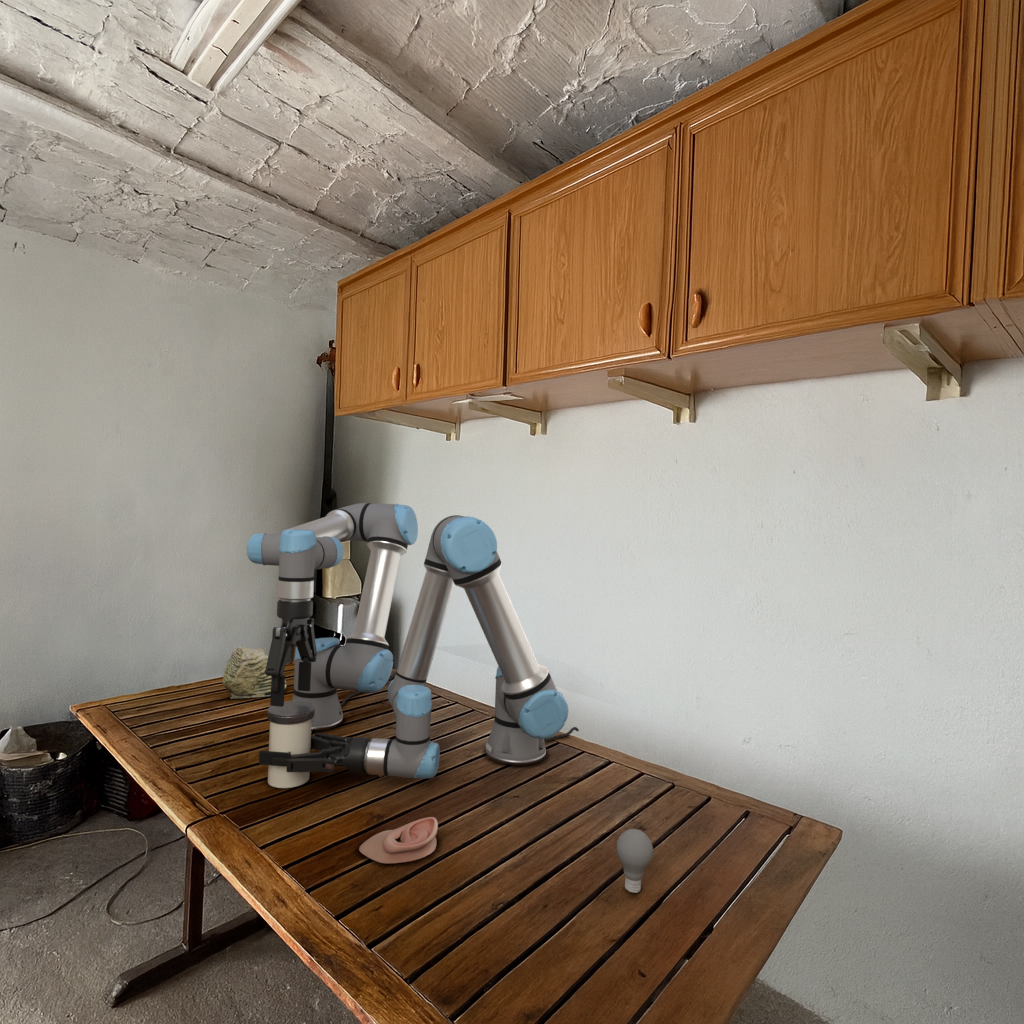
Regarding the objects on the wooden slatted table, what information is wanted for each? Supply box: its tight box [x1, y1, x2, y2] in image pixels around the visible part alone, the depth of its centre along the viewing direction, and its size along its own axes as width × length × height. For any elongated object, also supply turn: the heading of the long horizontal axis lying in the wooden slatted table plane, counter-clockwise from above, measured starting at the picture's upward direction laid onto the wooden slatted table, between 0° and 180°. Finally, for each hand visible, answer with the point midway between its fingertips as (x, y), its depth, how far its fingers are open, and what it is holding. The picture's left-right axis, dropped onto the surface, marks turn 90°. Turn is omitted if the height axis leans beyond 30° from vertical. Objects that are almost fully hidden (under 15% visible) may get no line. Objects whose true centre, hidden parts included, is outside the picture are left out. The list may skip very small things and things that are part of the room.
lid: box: [266, 700, 315, 724], centre depth 141 cm, size 10×10×2 cm
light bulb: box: [615, 828, 654, 894], centre depth 106 cm, size 6×6×10 cm
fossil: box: [222, 646, 288, 699], centre depth 198 cm, size 9×18×15 cm, turn 132°
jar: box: [267, 719, 312, 789], centre depth 141 cm, size 9×9×16 cm
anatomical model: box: [358, 816, 439, 864], centre depth 116 cm, size 13×4×12 cm
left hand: (291, 697), depth 141 cm, fingers open, 11 cm apart
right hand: (270, 748), depth 142 cm, fingers closed on jar, 9 cm apart
